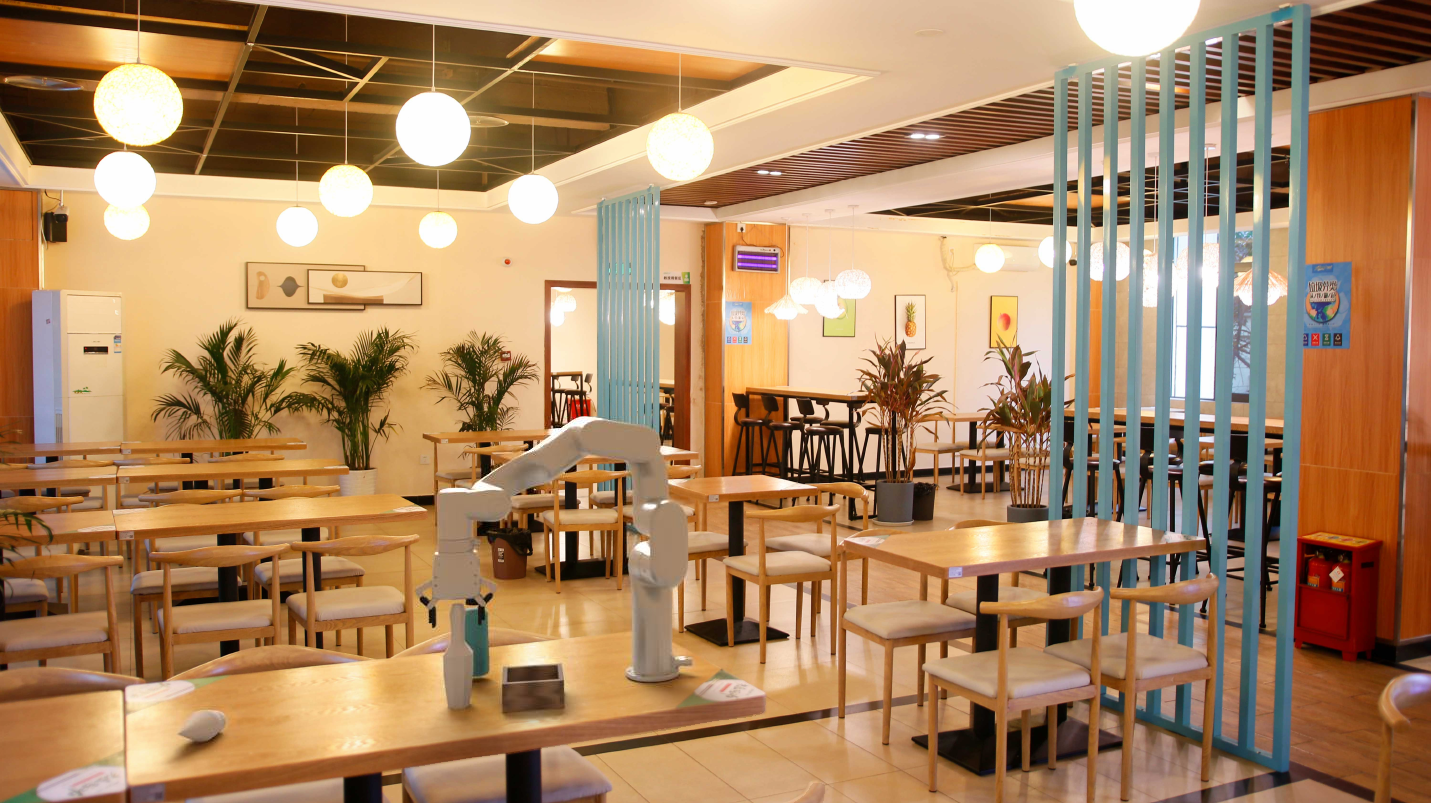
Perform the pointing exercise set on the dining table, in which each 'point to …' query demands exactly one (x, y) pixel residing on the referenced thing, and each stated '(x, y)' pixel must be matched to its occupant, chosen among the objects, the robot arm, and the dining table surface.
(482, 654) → the beverage bottle
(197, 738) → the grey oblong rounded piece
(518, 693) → the walnut box
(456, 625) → the low poly bottle
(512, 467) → the robot arm
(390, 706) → the dining table surface
